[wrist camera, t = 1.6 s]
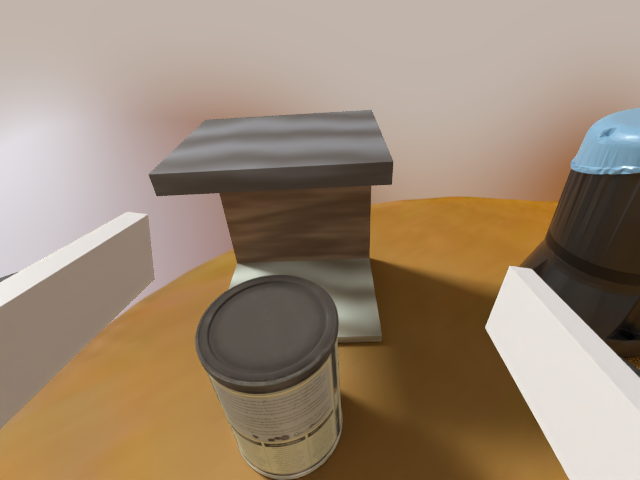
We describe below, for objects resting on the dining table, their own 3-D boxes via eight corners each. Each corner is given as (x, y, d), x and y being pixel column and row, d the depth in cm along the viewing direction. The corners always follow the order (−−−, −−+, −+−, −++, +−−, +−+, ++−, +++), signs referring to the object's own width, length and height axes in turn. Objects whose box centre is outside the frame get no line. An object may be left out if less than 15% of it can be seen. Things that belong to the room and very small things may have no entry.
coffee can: (218, 412, 34) (174, 313, 26) (303, 356, 39) (288, 258, 31) (270, 513, 27) (233, 420, 19) (365, 428, 32) (369, 326, 24)
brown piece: (381, 341, 40) (393, 161, 27) (212, 346, 41) (148, 174, 28) (368, 257, 53) (371, 110, 40) (240, 262, 54) (205, 119, 41)
